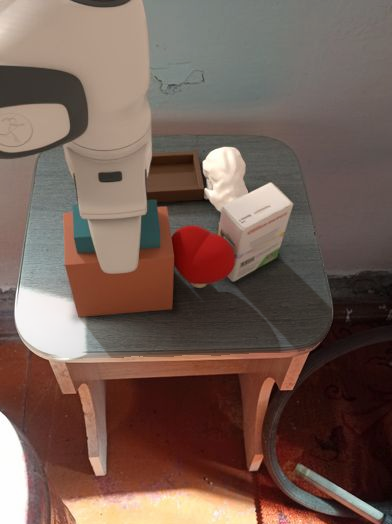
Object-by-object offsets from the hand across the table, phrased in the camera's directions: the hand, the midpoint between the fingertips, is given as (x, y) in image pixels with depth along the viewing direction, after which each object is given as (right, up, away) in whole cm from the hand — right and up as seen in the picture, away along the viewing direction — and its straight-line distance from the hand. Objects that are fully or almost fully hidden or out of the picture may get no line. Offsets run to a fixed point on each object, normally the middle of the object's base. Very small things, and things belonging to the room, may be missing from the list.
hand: (117, 231), depth 68 cm
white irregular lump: (+14, +7, +19) cm, 25 cm away
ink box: (+17, -1, +15) cm, 23 cm away
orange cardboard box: (-1, -6, +11) cm, 13 cm away
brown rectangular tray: (+4, +12, +21) cm, 24 cm away
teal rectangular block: (0, 0, +1) cm, 1 cm away
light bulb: (+10, -5, +13) cm, 17 cm away
